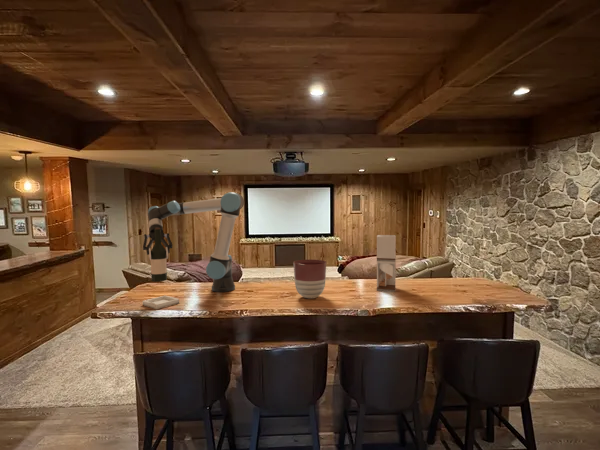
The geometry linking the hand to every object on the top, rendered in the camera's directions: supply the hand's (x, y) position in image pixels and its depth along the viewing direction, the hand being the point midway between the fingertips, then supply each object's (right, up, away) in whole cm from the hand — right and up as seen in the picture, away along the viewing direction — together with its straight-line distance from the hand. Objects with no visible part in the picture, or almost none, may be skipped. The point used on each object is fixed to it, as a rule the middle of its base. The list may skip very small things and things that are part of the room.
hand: (159, 257), depth 187 cm
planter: (+85, -25, +13) cm, 90 cm away
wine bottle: (-1, -13, +4) cm, 14 cm away
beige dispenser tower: (+135, -24, +30) cm, 141 cm away
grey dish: (0, -26, +2) cm, 27 cm away
